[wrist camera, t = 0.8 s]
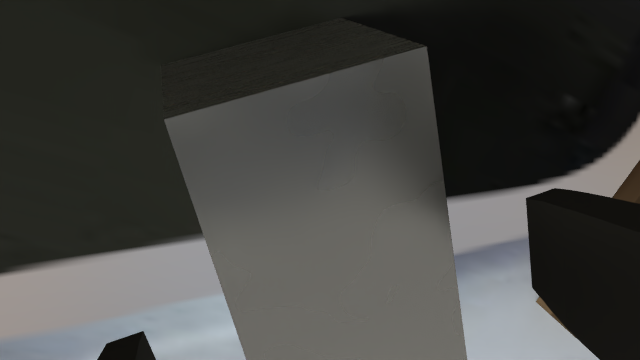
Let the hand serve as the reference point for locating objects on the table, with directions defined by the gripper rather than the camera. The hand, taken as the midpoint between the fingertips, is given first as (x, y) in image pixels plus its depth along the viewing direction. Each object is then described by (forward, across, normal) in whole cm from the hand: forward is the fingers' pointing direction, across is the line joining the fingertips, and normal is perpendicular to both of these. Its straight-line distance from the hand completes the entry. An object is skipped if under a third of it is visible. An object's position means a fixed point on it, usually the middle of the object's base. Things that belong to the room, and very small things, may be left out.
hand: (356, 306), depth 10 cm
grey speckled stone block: (+6, 0, 0) cm, 6 cm away
